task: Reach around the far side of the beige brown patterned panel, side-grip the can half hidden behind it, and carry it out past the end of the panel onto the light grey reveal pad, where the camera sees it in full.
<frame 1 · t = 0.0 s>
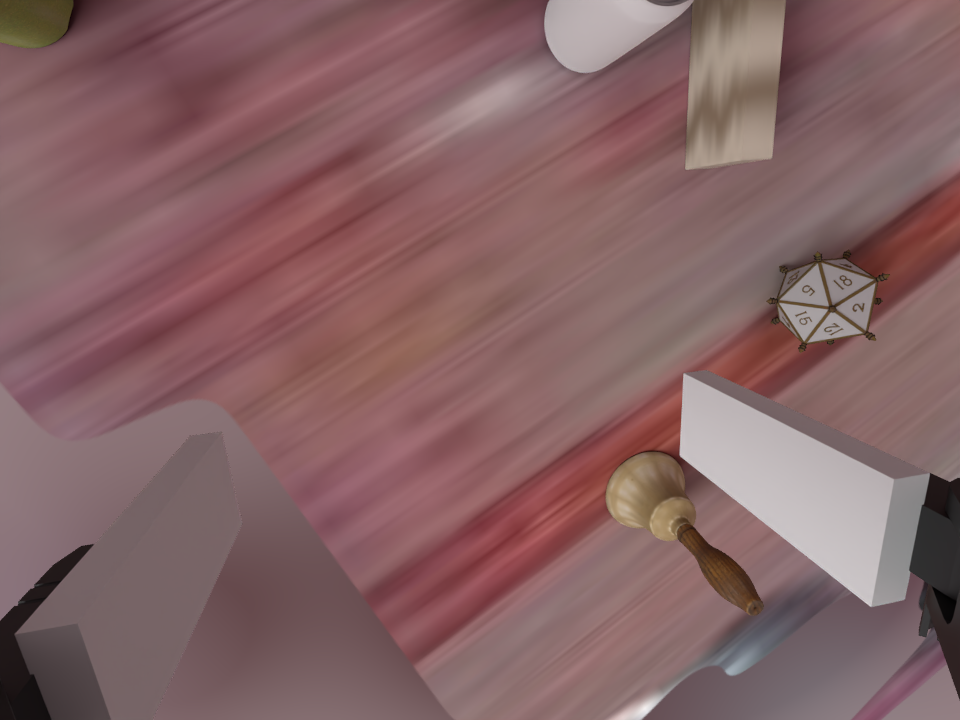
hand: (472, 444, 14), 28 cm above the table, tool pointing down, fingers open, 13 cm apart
beige brown patterned panel: (705, 25, 40), on the table
can: (582, 27, 38), on the table
game die: (787, 294, 47), on the table
hand bell: (643, 488, 50), on the table
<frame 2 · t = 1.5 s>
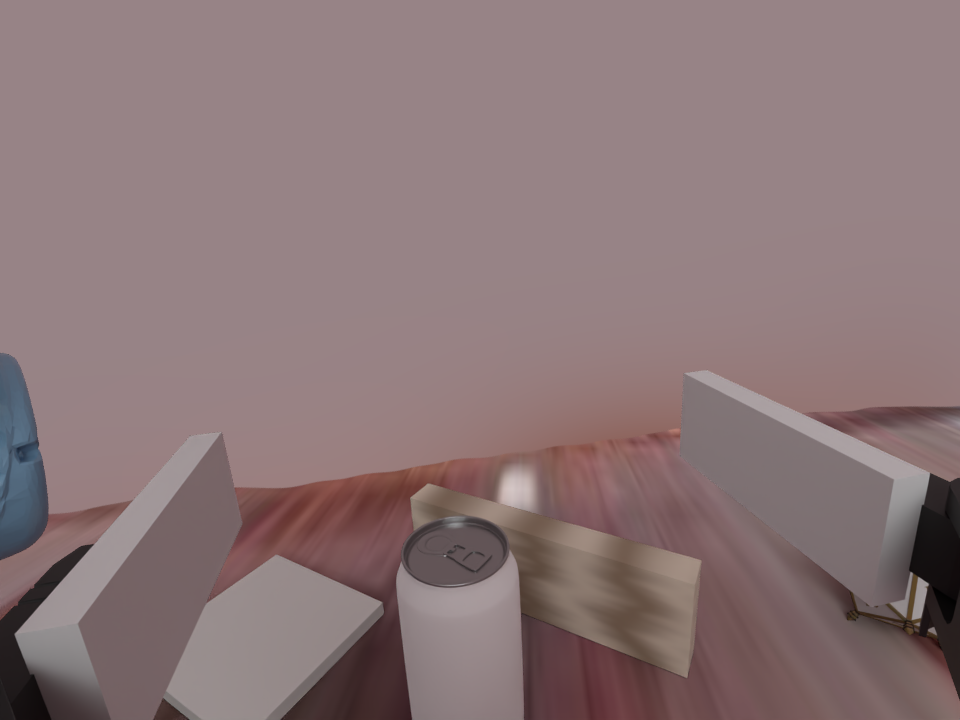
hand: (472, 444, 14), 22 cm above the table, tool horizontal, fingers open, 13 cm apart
beige brown patterned panel: (540, 606, 38), on the table
reveal pad: (263, 640, 36), on the table
game die: (893, 623, 35), on the table
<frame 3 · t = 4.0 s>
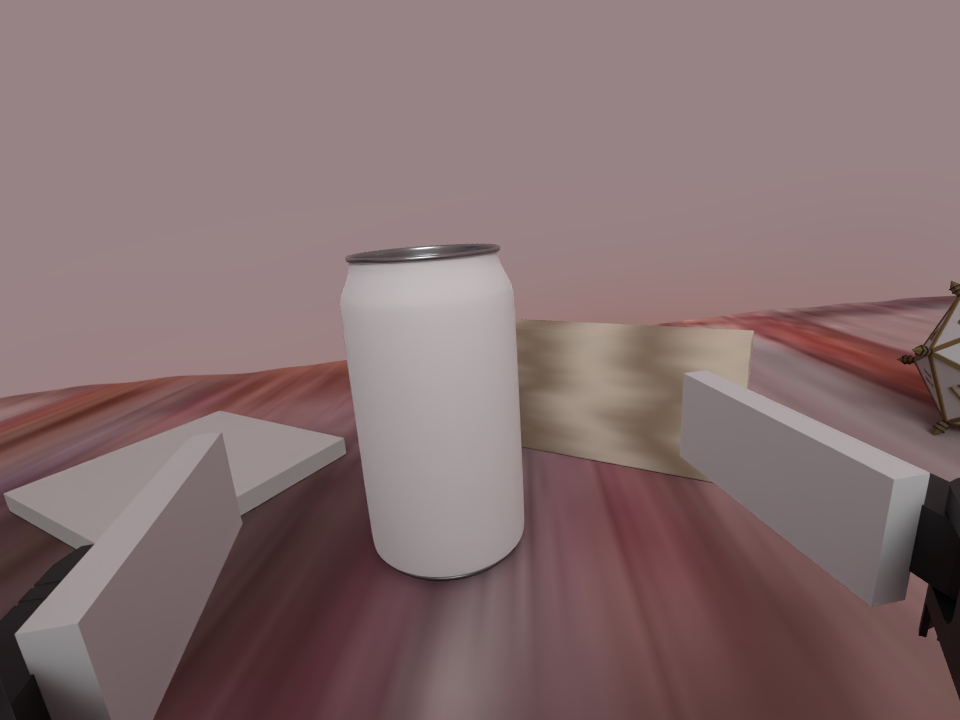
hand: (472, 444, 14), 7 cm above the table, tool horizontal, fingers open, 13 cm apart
beige brown patterned panel: (542, 440, 30), on the table
can: (450, 538, 22), on the table
reveal pad: (189, 480, 28), on the table
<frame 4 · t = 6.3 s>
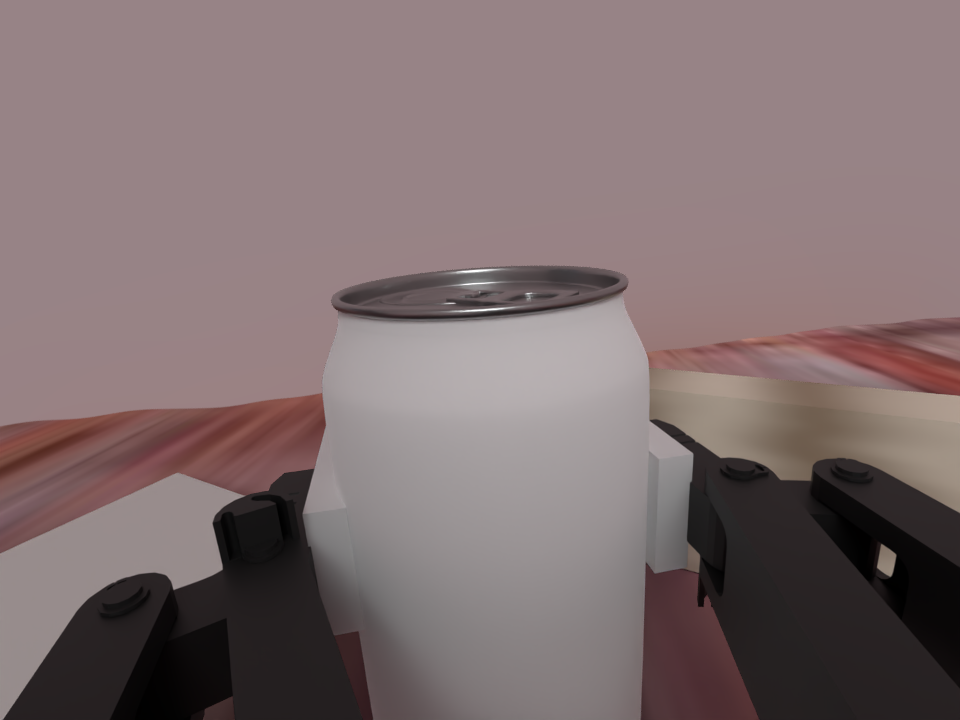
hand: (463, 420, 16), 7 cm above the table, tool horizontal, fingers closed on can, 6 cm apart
beige brown patterned panel: (618, 532, 21), on the table
reveal pad: (117, 596, 20), on the table
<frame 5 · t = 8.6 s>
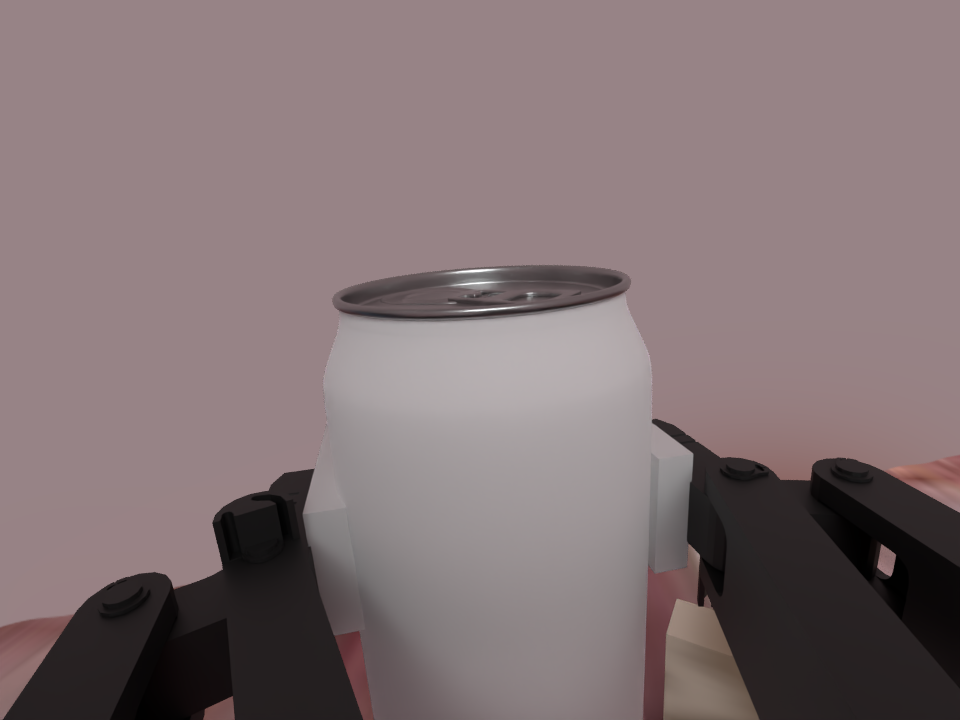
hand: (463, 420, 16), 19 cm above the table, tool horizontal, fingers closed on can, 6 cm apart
when the fingers open (9 cm above the table, at t = 11.0 s): can drops 1 cm, resting on reveal pad.
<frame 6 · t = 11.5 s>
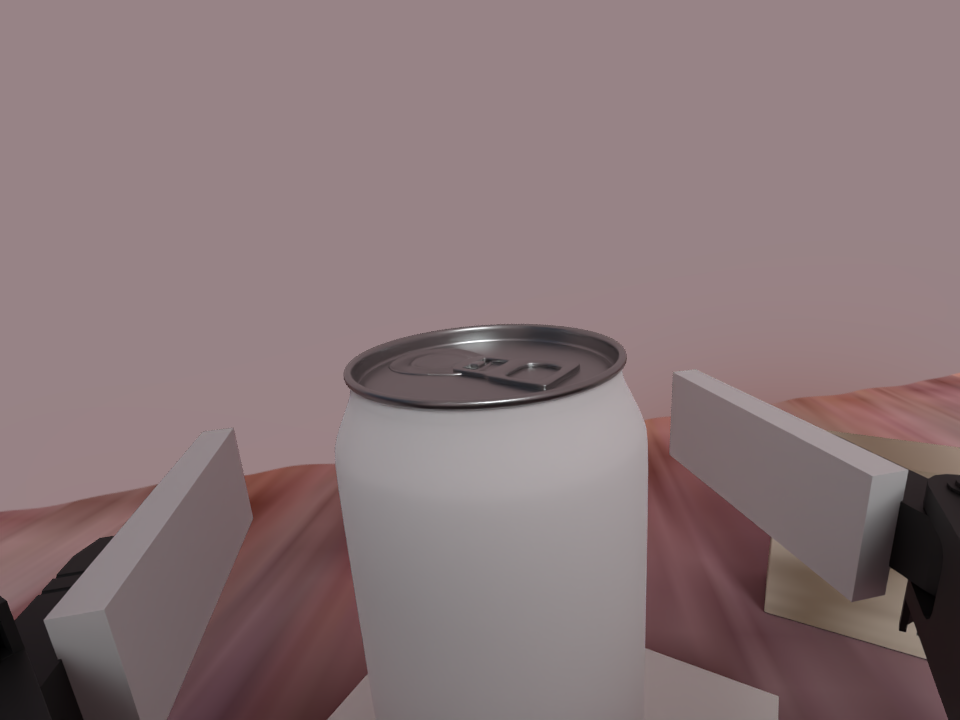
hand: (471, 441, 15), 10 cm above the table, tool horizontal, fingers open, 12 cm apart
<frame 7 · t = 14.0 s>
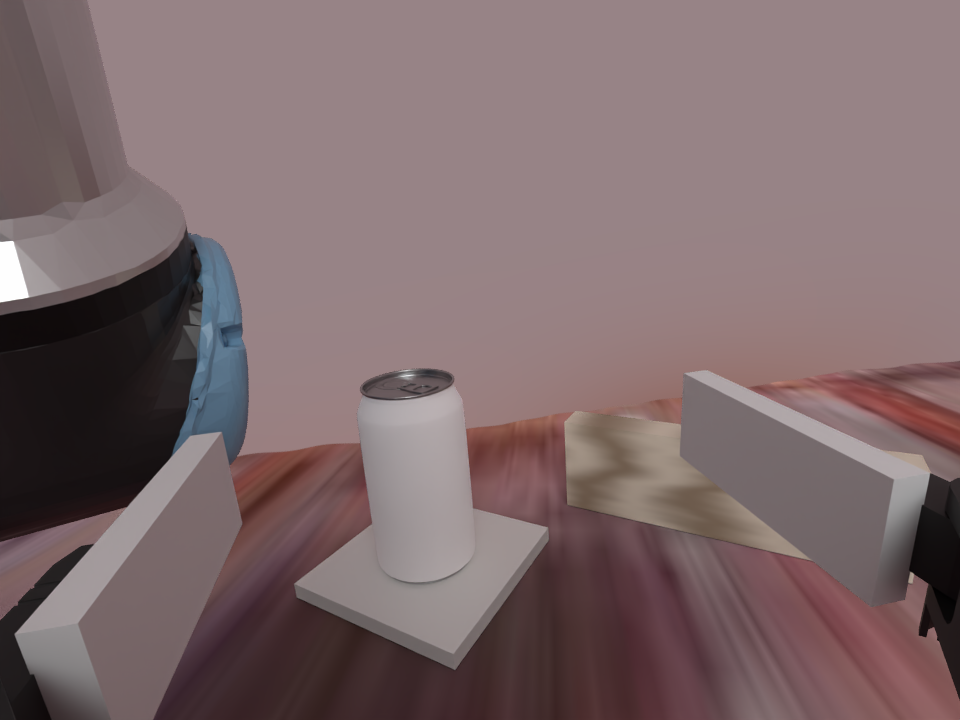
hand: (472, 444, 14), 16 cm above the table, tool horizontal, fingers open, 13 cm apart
beige brown patterned panel: (715, 528, 36), on the table
can: (428, 556, 34), point 1 cm above the table, touching reveal pad
reveal pad: (429, 567, 34), on the table
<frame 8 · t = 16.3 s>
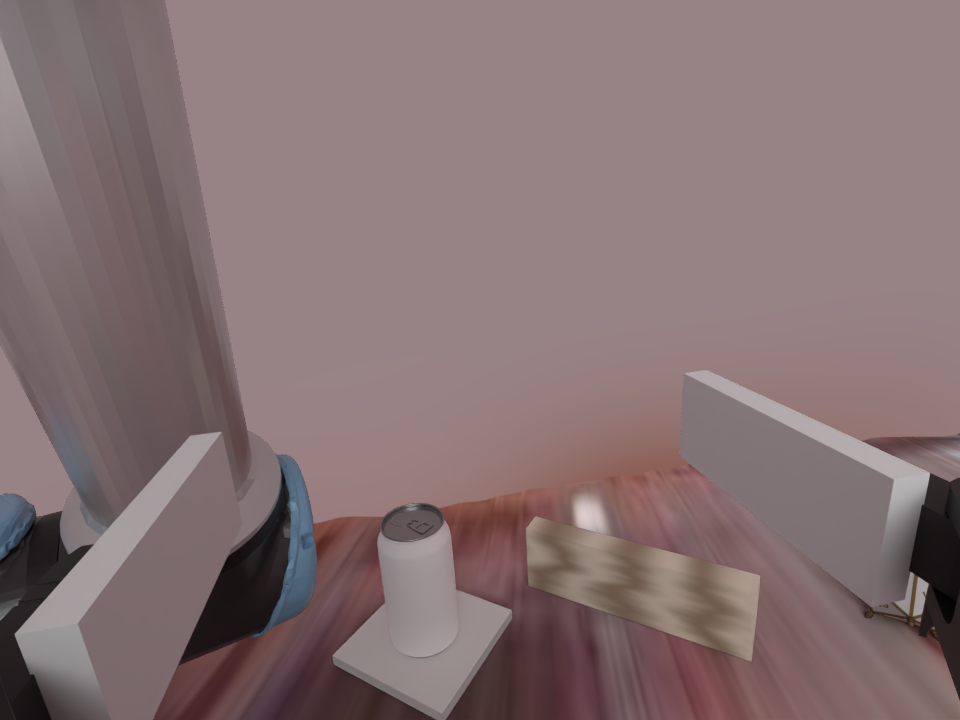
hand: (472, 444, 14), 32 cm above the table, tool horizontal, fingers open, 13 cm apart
beige brown patterned panel: (631, 611, 50), on the table
can: (425, 633, 48), point 1 cm above the table, touching reveal pad
reveal pad: (426, 640, 48), on the table
game die: (899, 619, 47), on the table
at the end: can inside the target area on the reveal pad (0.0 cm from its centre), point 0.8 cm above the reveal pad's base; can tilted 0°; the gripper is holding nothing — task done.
